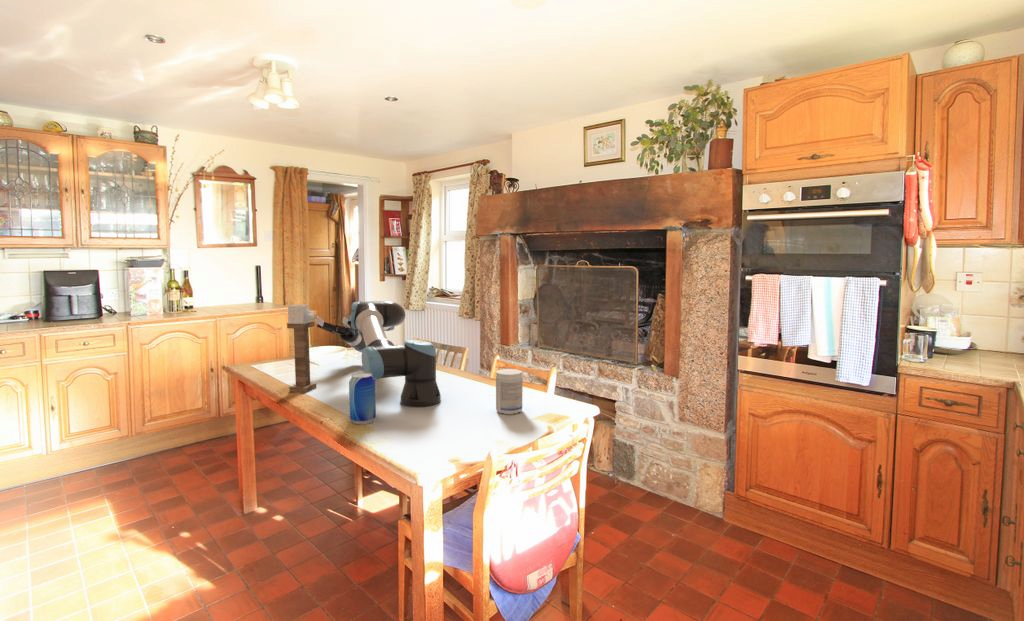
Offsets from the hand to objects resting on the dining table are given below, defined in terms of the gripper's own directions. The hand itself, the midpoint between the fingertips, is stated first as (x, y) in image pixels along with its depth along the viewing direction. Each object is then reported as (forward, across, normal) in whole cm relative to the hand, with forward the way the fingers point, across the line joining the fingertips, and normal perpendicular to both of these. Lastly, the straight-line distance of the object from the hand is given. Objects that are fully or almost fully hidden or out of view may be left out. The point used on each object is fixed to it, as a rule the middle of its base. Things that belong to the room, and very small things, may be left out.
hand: (329, 318), depth 228 cm
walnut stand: (+4, 0, -33) cm, 34 cm away
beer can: (+31, -42, -49) cm, 72 cm away
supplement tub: (+12, -88, -38) cm, 96 cm away
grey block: (+16, +1, -8) cm, 18 cm away
